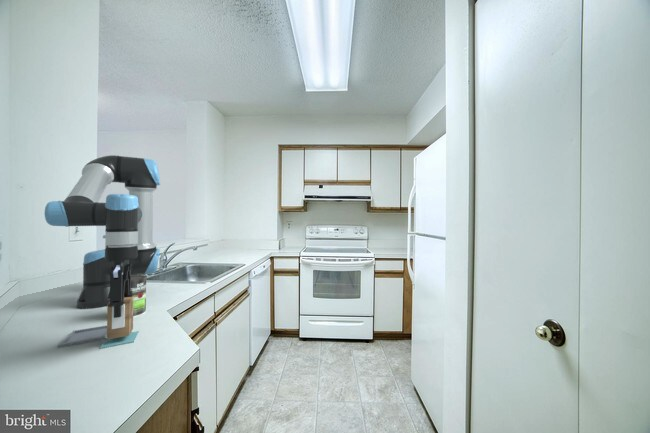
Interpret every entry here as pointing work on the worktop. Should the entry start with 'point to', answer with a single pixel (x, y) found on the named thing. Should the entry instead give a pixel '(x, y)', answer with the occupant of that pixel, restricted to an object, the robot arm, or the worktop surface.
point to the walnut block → (128, 320)
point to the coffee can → (138, 294)
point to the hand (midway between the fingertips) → (120, 323)
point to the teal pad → (120, 340)
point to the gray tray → (84, 336)
